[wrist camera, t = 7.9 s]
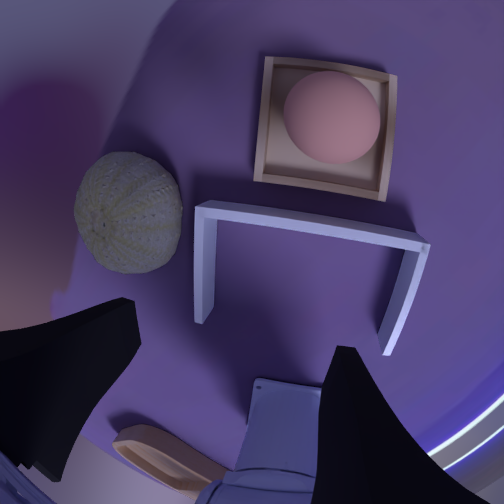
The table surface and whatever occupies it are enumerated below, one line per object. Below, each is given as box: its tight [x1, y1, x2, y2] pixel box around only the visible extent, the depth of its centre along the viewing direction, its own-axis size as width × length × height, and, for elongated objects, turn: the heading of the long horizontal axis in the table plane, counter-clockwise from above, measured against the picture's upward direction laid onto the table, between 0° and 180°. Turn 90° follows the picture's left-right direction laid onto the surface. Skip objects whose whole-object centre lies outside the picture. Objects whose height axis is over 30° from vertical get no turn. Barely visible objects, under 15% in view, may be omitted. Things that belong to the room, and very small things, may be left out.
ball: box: [284, 71, 380, 164], centre depth 12 cm, size 5×5×5 cm
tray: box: [253, 56, 397, 202], centre depth 14 cm, size 8×8×1 cm
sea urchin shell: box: [74, 151, 183, 274], centre depth 18 cm, size 9×8×8 cm
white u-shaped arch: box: [194, 200, 431, 356], centre depth 17 cm, size 8×14×2 cm, turn 85°
